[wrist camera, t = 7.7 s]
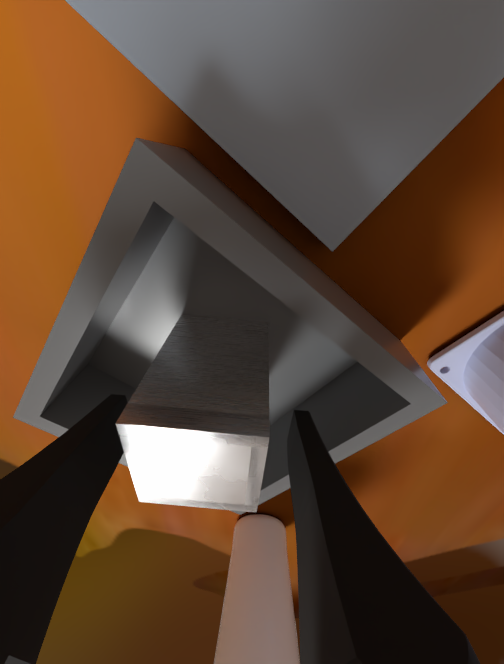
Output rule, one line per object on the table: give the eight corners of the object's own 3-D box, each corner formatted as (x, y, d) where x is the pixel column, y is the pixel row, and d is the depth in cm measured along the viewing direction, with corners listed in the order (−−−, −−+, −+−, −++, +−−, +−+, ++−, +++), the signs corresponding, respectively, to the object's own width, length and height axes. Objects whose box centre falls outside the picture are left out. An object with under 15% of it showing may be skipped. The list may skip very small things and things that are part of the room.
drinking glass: (215, 522, 28) (171, 818, 15) (256, 500, 25) (245, 845, 12) (263, 542, 30) (259, 817, 17) (306, 524, 27) (340, 840, 14)
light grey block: (268, 321, 14) (269, 437, 8) (260, 386, 16) (256, 512, 10) (181, 314, 14) (115, 423, 8) (186, 379, 16) (139, 501, 10)
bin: (400, 340, 14) (447, 402, 11) (245, 451, 21) (240, 514, 17) (184, 148, 10) (136, 137, 6) (71, 359, 16) (13, 417, 13)
